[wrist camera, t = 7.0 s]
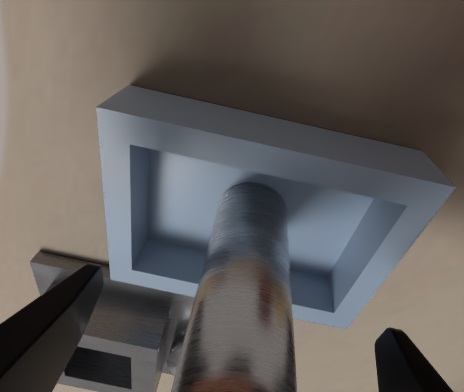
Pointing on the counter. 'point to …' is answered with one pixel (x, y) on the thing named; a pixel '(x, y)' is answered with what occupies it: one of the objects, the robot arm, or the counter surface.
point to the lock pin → (242, 301)
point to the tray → (268, 173)
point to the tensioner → (121, 331)
